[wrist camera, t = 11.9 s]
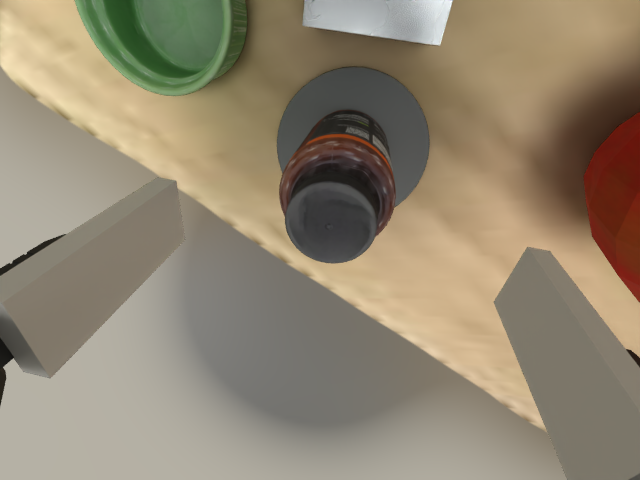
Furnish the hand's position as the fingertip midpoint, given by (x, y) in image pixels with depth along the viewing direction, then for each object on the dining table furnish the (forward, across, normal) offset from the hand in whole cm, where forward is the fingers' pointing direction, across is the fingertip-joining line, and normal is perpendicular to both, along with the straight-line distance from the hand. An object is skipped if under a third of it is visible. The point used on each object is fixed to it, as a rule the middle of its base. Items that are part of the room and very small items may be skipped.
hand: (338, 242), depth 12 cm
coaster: (+13, -1, -1) cm, 13 cm away
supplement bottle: (+13, -1, 0) cm, 13 cm away
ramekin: (+14, -12, +6) cm, 20 cm away
